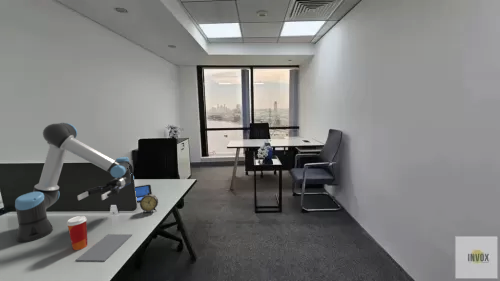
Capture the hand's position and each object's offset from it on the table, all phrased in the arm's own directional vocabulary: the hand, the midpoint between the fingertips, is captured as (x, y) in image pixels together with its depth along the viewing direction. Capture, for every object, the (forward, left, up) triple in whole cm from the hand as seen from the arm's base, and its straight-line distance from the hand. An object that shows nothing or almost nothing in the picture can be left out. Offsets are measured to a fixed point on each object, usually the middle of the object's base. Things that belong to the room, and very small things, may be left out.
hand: (90, 197), depth 122 cm
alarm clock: (+16, +31, -22) cm, 42 cm away
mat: (+14, -10, -22) cm, 28 cm away
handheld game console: (-3, +54, -23) cm, 58 cm away
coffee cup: (0, -10, -22) cm, 24 cm away
